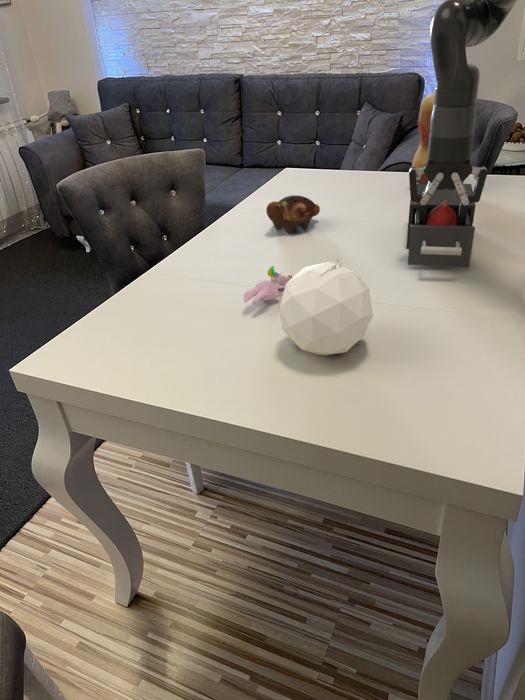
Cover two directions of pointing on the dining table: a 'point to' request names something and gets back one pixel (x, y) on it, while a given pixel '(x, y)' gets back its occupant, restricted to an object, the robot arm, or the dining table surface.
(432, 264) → the drawer
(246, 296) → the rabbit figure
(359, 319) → the geodesic sphere
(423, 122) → the butternut squash
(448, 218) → the onion
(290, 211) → the decorative turtle
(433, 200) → the cabinet
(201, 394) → the dining table surface
